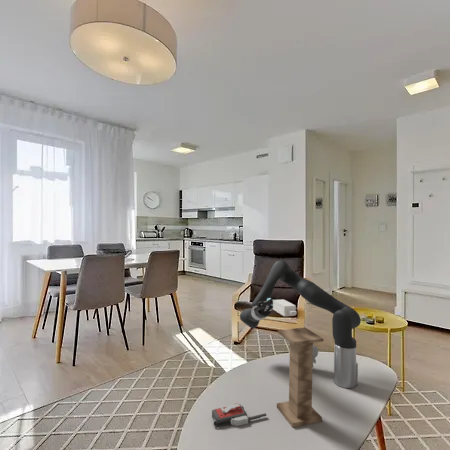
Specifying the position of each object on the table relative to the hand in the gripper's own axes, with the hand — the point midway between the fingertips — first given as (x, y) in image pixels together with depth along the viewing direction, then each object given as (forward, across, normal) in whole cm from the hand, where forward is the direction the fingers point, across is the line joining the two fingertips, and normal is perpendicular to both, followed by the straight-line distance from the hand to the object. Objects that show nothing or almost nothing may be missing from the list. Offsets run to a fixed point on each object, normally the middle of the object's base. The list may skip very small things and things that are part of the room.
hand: (275, 300), depth 132 cm
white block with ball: (+2, 0, +5) cm, 5 cm away
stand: (-1, 0, +43) cm, 43 cm away
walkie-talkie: (-5, -23, +41) cm, 47 cm away
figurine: (-27, +24, +28) cm, 46 cm away
